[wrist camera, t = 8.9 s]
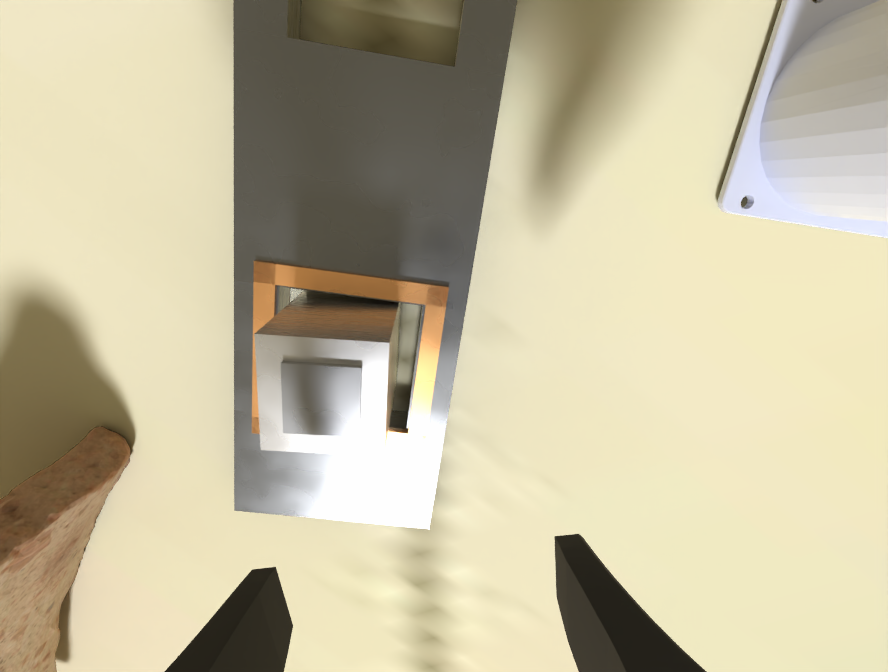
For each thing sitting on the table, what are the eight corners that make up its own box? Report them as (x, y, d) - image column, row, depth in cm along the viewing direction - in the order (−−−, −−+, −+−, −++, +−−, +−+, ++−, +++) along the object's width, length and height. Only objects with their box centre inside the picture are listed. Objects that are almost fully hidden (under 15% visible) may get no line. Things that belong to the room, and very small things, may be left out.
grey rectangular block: (401, 295, 19) (388, 345, 13) (396, 381, 21) (383, 460, 15) (306, 288, 19) (252, 336, 13) (307, 375, 20) (258, 453, 14)
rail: (564, -321, 13) (582, -390, 12) (428, 507, 23) (429, 531, 21) (254, -398, 13) (229, -482, 11) (246, 489, 22) (232, 513, 20)
